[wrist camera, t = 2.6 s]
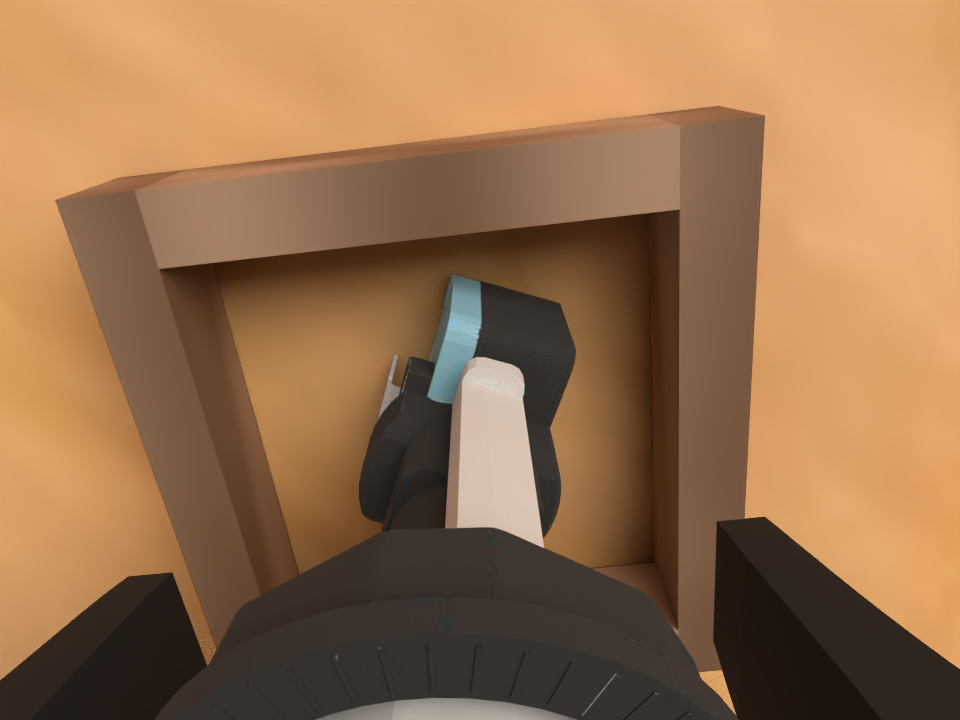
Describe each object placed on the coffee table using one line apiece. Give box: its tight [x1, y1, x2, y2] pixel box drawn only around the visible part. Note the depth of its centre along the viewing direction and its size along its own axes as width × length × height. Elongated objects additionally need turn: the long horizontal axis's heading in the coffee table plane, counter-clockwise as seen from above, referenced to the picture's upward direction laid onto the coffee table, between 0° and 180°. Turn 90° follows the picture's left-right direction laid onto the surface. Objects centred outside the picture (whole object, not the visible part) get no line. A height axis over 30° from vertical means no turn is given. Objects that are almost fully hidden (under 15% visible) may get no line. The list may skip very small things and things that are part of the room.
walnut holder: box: [55, 106, 765, 672], centre depth 13 cm, size 10×11×2 cm
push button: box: [155, 274, 738, 720], centre depth 9 cm, size 7×5×10 cm
